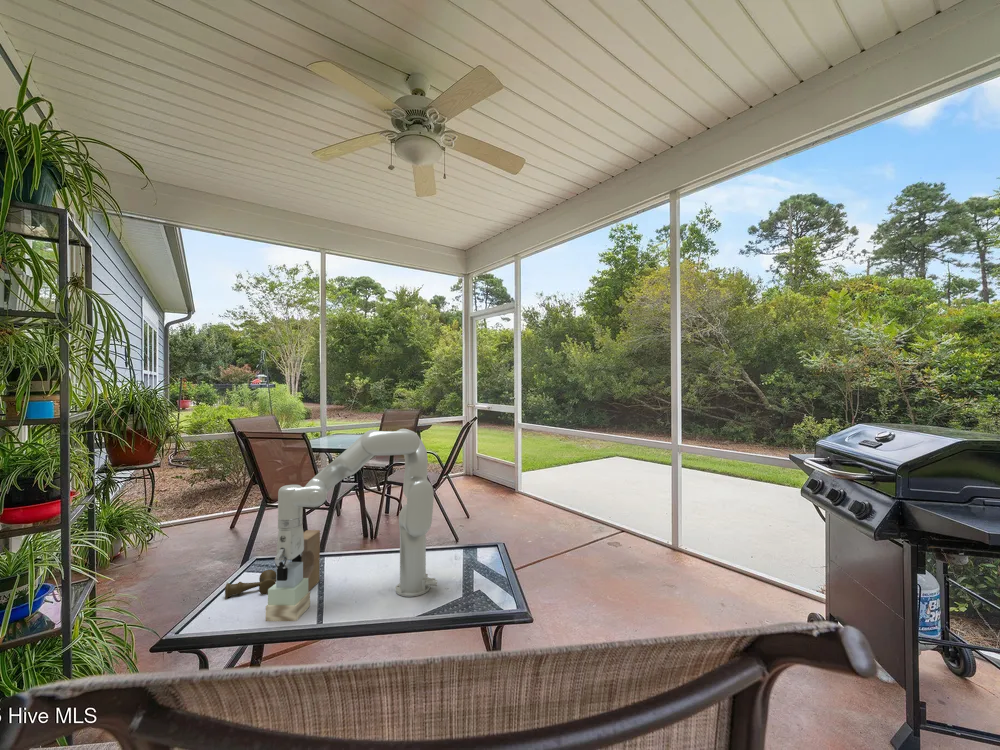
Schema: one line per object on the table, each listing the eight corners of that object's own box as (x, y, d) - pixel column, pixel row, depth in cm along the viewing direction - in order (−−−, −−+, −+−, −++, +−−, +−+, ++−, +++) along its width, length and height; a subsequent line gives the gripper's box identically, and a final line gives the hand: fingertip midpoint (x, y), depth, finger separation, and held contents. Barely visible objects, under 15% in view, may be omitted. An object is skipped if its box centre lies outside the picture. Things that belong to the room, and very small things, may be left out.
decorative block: (306, 594, 157) (306, 539, 158) (290, 594, 158) (291, 539, 159) (320, 581, 169) (320, 529, 169) (306, 581, 169) (306, 529, 170)
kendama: (226, 593, 160) (286, 580, 169) (223, 605, 152) (287, 591, 161) (226, 577, 160) (286, 565, 170) (223, 588, 152) (286, 575, 161)
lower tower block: (310, 606, 149) (310, 592, 149) (296, 621, 139) (296, 606, 139) (281, 606, 149) (281, 592, 149) (265, 622, 139) (265, 606, 139)
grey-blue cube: (302, 579, 148) (303, 561, 148) (294, 587, 142) (294, 568, 142) (285, 579, 148) (285, 561, 148) (276, 587, 142) (276, 568, 142)
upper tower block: (308, 592, 149) (308, 578, 149) (294, 605, 140) (294, 589, 140) (282, 592, 149) (283, 577, 149) (267, 605, 140) (267, 589, 140)
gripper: (288, 530, 137) (287, 585, 136) (312, 515, 154) (312, 564, 153) (265, 530, 137) (264, 585, 136) (291, 515, 154) (291, 564, 153)
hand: (289, 574), depth 145 cm, fingers open, 9 cm apart
